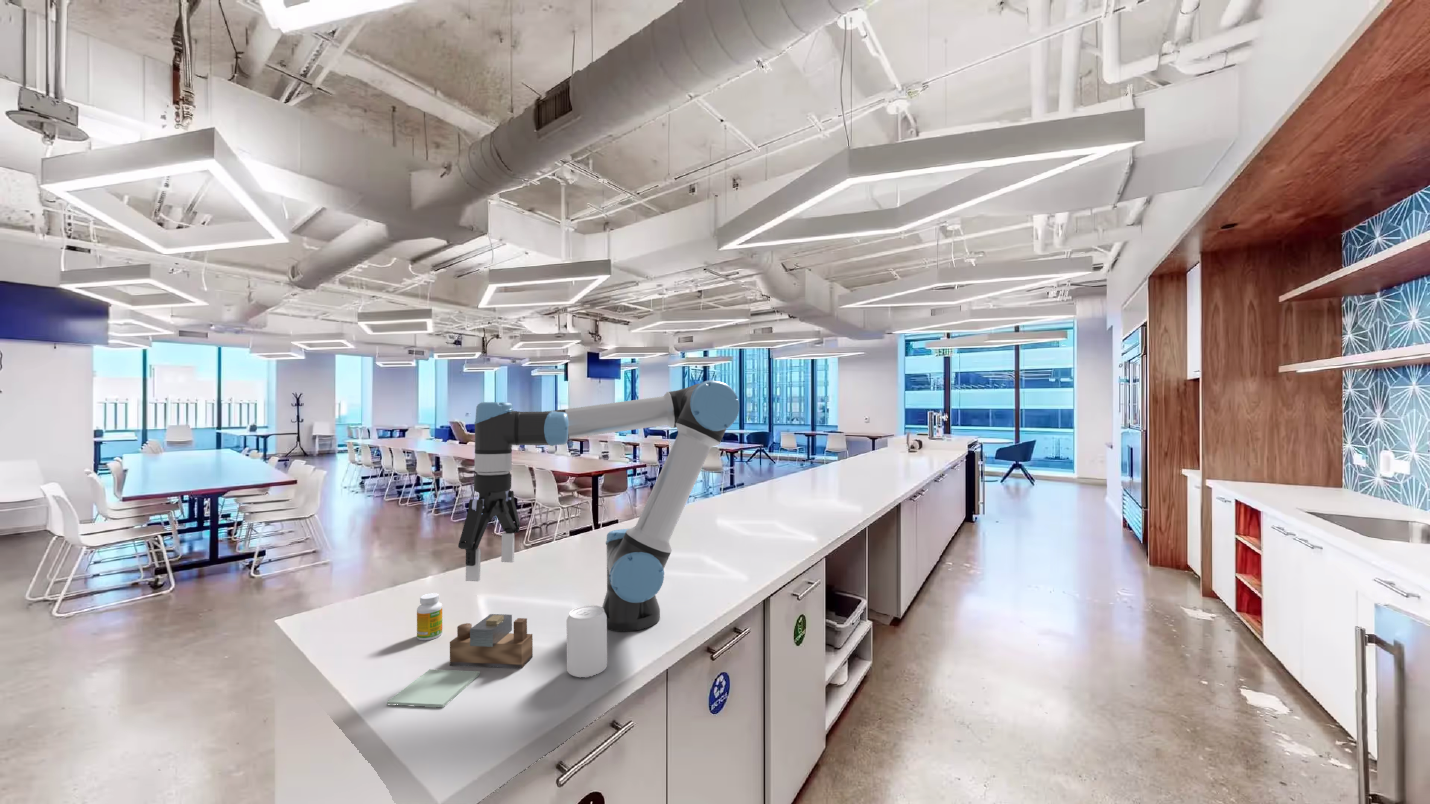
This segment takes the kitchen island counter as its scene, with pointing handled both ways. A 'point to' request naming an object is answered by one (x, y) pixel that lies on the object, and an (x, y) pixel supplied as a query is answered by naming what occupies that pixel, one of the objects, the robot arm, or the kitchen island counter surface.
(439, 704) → the mat
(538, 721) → the kitchen island counter surface
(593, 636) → the beverage can
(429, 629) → the supplement bottle
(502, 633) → the dark grey rectangular block
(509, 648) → the hand plane
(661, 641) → the kitchen island counter surface
